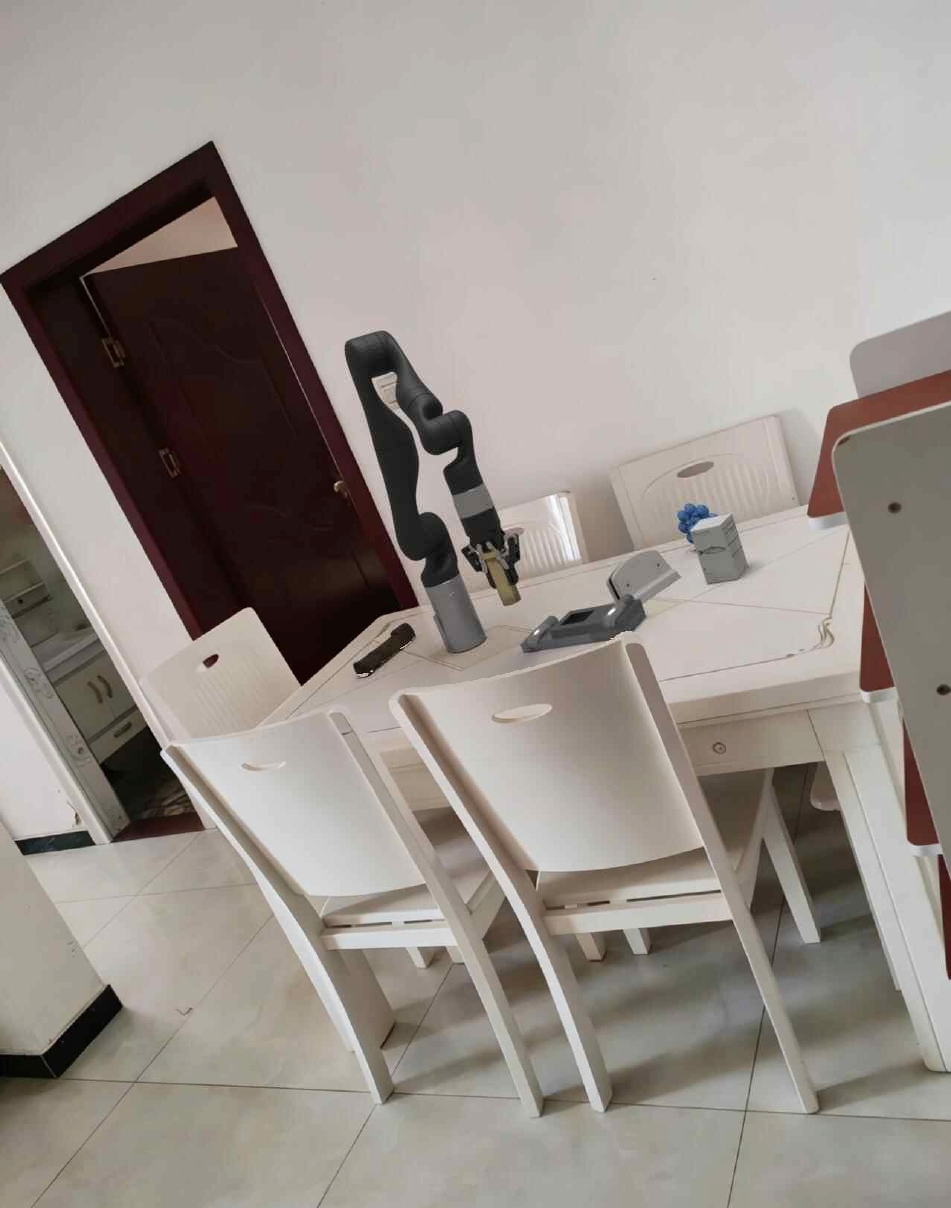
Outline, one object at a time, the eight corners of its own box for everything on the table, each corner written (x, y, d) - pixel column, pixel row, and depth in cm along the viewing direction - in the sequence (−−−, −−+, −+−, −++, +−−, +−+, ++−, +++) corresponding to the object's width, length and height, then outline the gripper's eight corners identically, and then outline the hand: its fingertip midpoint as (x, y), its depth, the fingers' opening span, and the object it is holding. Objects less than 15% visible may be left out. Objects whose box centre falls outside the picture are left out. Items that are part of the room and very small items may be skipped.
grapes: (678, 559, 227) (662, 513, 224) (692, 548, 231) (676, 502, 228) (721, 553, 219) (705, 505, 216) (734, 542, 223) (718, 495, 220)
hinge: (634, 609, 205) (608, 570, 206) (622, 615, 209) (597, 577, 210) (682, 576, 214) (658, 539, 214) (669, 583, 218) (646, 546, 218)
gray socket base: (522, 653, 206) (513, 631, 205) (545, 631, 215) (536, 609, 213) (626, 638, 191) (618, 613, 189) (647, 614, 199) (638, 591, 198)
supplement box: (706, 585, 202) (687, 531, 199) (718, 571, 208) (700, 518, 205) (738, 580, 198) (720, 524, 194) (749, 566, 203) (732, 511, 200)
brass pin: (496, 608, 196) (475, 556, 193) (508, 598, 200) (487, 546, 197) (516, 605, 193) (495, 551, 190) (528, 594, 197) (507, 542, 194)
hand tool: (370, 678, 234) (361, 658, 232) (357, 679, 237) (348, 659, 236) (425, 637, 250) (417, 618, 248) (412, 638, 253) (404, 620, 252)
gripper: (439, 522, 193) (470, 598, 197) (494, 508, 184) (525, 587, 189) (458, 510, 199) (488, 584, 203) (512, 495, 190) (542, 573, 194)
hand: (505, 585), depth 196 cm, fingers closed on brass pin, 4 cm apart
